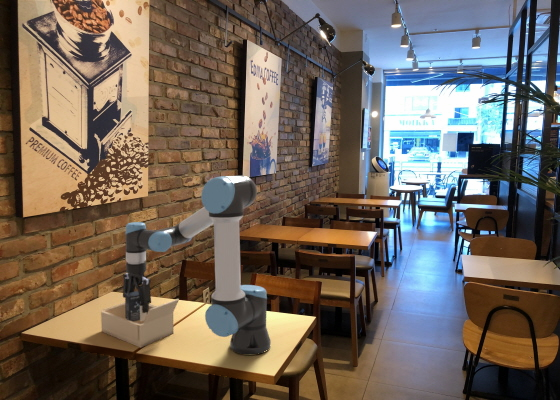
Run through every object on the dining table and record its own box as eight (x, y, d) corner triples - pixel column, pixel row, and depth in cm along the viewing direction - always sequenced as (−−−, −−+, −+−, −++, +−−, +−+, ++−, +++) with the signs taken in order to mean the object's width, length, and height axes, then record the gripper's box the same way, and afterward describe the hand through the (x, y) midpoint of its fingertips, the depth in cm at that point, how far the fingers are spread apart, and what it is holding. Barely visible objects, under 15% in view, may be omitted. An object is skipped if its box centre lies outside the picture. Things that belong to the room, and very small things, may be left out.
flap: (173, 312, 175) (179, 299, 172) (144, 323, 163) (150, 310, 161) (172, 311, 175) (178, 298, 172) (143, 322, 163) (149, 309, 161)
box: (129, 322, 172) (129, 296, 171) (125, 318, 177) (124, 292, 175) (149, 318, 177) (149, 293, 176) (144, 314, 181) (144, 289, 180)
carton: (174, 332, 178) (174, 311, 177) (139, 348, 164) (138, 325, 163) (135, 318, 191) (134, 299, 190) (99, 331, 177) (98, 310, 176)
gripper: (160, 264, 171) (161, 320, 174) (128, 255, 183) (129, 309, 185) (145, 268, 165) (145, 327, 168) (112, 259, 176) (113, 314, 179)
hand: (137, 317), depth 177 cm, fingers closed on box, 7 cm apart
